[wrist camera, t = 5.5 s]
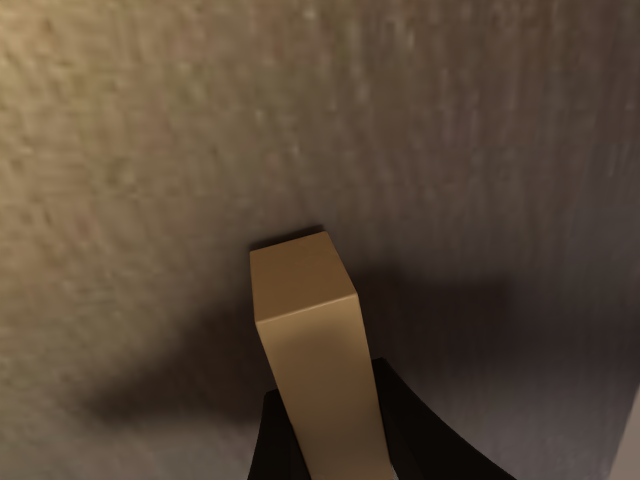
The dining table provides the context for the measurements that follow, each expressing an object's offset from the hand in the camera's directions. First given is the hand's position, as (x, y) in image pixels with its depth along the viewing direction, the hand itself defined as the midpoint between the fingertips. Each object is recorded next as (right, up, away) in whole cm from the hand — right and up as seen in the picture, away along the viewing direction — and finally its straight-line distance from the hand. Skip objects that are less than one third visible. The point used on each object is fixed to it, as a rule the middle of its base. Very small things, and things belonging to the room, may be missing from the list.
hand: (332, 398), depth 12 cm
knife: (+1, -3, +4) cm, 5 cm away
